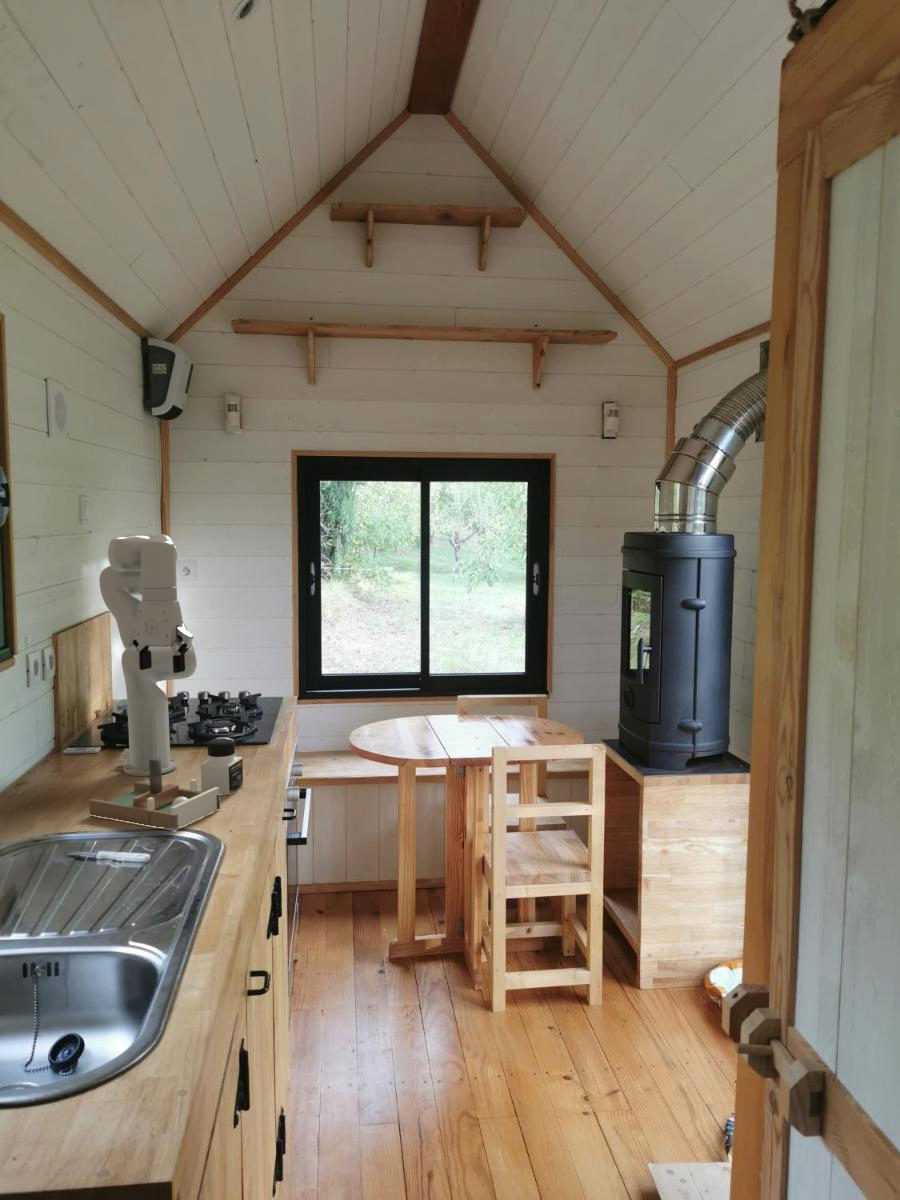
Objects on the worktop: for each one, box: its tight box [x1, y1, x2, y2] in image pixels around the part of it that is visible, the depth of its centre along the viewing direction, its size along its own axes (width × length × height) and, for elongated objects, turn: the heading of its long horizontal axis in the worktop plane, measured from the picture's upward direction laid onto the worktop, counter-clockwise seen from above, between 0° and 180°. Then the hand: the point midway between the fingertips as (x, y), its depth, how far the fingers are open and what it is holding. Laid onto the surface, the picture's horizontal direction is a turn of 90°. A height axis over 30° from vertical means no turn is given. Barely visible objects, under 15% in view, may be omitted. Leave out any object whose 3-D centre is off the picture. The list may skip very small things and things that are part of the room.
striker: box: [133, 758, 180, 809], centre depth 185 cm, size 3×10×10 cm, turn 156°
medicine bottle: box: [200, 737, 244, 796], centre depth 200 cm, size 7×7×12 cm
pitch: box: [88, 778, 221, 828], centre depth 186 cm, size 23×14×6 cm, turn 66°
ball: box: [172, 797, 188, 807], centre depth 183 cm, size 4×4×4 cm
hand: (162, 670), depth 197 cm, fingers open, 9 cm apart
